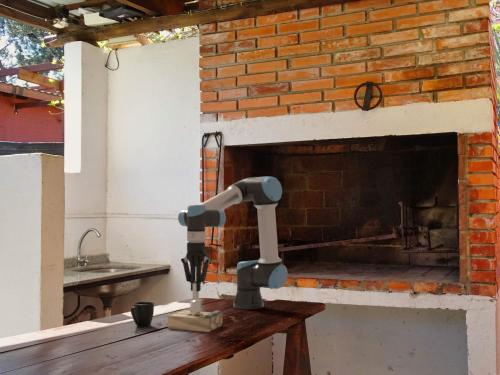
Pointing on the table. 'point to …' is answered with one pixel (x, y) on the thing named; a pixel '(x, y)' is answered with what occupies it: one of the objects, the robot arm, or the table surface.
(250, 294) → the robot arm
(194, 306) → the cylinder
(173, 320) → the block
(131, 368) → the table surface
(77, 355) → the table surface
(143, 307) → the mug
